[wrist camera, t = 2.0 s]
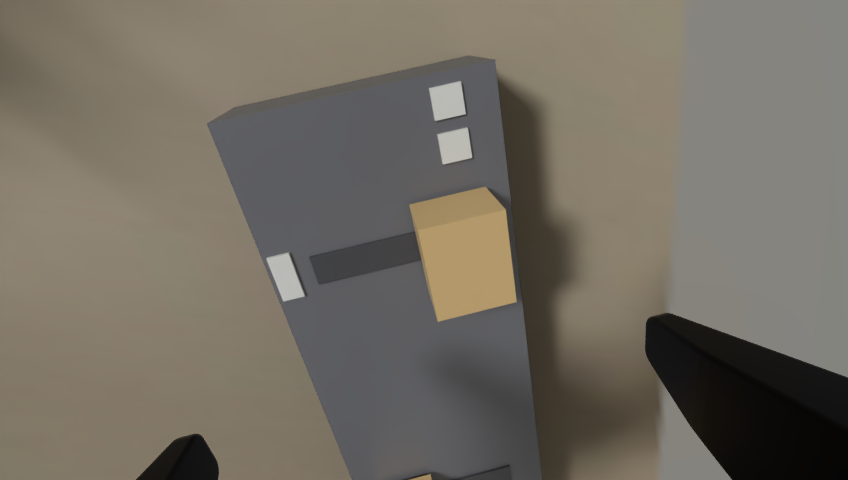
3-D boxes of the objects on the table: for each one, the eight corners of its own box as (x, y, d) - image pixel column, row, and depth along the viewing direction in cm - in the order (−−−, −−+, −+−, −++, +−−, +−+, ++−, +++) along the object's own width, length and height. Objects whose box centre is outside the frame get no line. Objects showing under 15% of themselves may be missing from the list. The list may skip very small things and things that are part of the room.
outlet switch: (496, 269, 15) (516, 302, 13) (427, 286, 15) (438, 321, 13) (485, 186, 13) (505, 209, 12) (408, 204, 13) (417, 230, 12)
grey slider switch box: (526, 475, 24) (548, 532, 22) (386, 513, 24) (390, 576, 21) (469, 55, 15) (496, 59, 12) (234, 107, 14) (206, 124, 12)
